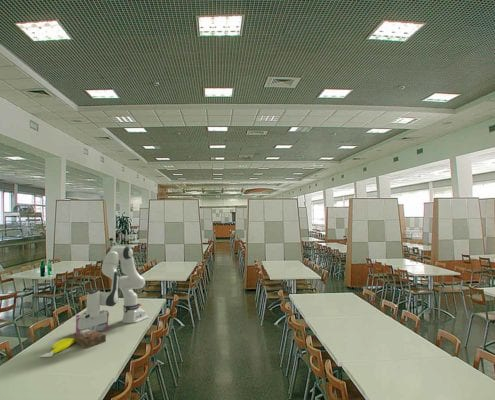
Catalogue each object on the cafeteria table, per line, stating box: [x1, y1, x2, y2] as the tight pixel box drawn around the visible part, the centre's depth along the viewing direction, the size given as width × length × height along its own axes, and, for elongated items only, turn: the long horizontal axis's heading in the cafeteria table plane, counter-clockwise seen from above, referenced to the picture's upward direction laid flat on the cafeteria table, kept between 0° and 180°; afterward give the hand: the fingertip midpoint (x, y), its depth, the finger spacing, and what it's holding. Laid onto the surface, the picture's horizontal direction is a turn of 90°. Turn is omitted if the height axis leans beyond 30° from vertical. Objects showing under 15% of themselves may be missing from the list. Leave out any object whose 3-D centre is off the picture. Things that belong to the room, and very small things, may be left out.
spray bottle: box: [39, 337, 75, 358], centre depth 211 cm, size 3×11×24 cm
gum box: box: [75, 310, 110, 334], centre depth 246 cm, size 24×8×14 cm, turn 124°
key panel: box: [71, 331, 107, 349], centre depth 224 cm, size 14×20×5 cm
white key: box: [80, 329, 90, 335], centre depth 227 cm, size 5×5×4 cm
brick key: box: [87, 332, 98, 338], centre depth 221 cm, size 5×5×4 cm
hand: (92, 332), depth 221 cm, fingers closed
